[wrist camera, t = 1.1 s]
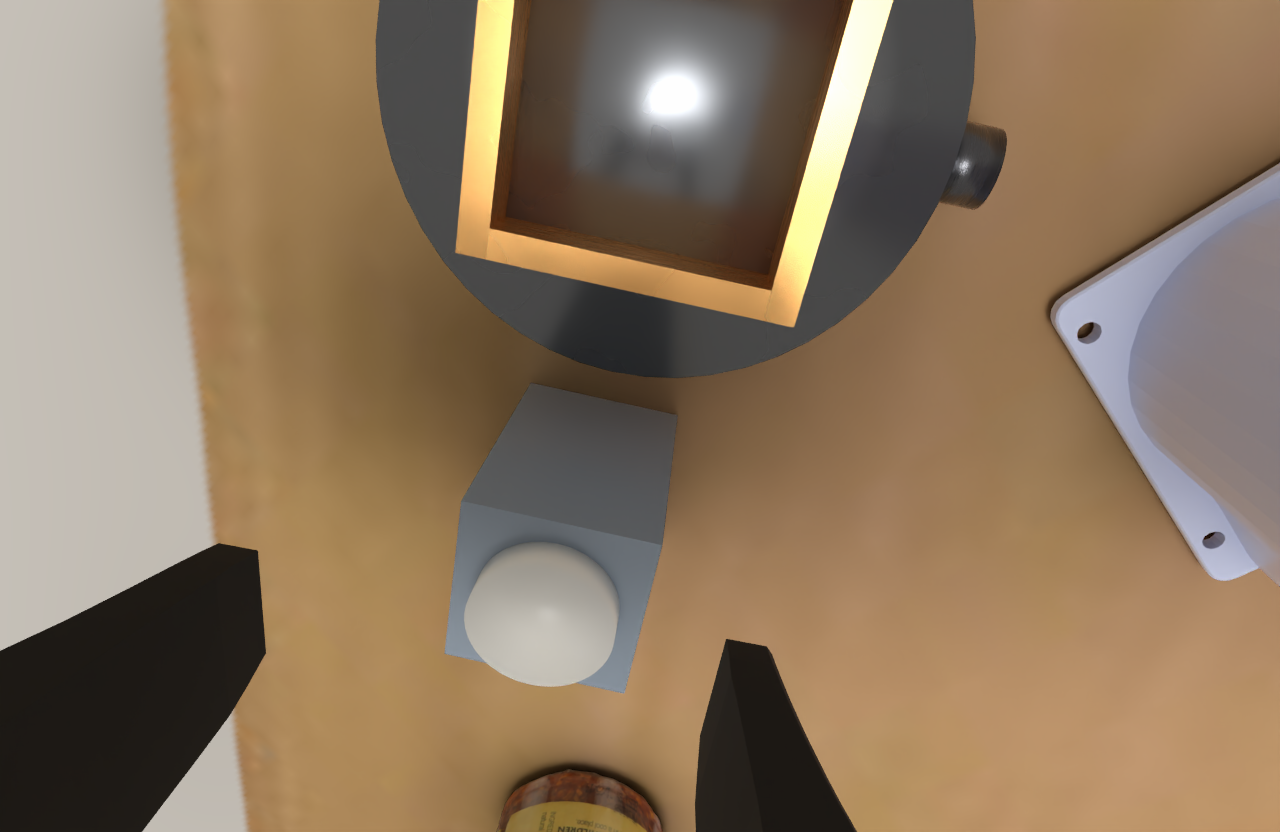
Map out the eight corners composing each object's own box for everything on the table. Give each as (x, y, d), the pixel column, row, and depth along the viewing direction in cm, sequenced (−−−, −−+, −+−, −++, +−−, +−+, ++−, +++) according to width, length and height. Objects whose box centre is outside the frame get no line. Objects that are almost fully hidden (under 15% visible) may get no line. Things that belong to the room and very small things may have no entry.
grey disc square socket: (1073, -137, 14) (1202, -208, 11) (881, 384, 19) (922, 463, 15) (452, -273, 14) (357, -394, 11) (415, 281, 19) (340, 334, 15)
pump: (677, 414, 20) (659, 570, 14) (639, 569, 22) (609, 761, 16) (530, 382, 20) (447, 523, 14) (507, 540, 22) (427, 721, 16)
